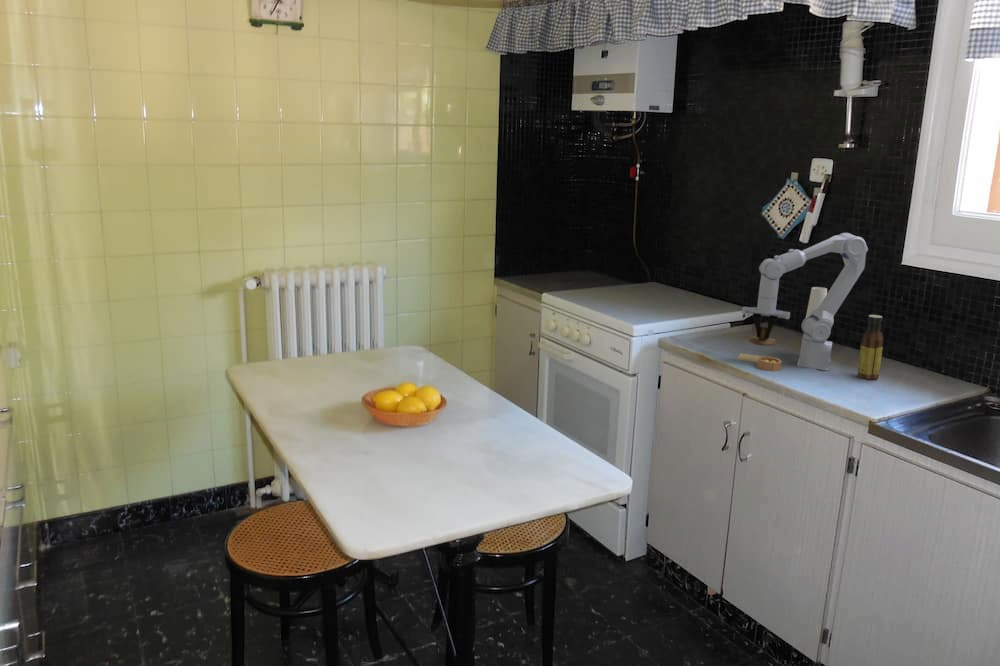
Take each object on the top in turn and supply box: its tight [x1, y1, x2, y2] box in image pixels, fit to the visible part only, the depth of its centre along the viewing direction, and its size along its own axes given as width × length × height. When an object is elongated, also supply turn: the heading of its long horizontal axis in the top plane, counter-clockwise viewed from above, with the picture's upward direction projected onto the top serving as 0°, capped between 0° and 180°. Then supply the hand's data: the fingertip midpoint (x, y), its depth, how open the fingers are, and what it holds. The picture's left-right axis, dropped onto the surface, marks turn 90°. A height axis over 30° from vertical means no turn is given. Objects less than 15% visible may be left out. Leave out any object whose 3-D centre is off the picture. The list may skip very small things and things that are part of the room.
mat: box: [736, 352, 764, 363], centre depth 265 cm, size 9×8×1 cm
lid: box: [748, 326, 777, 346], centre depth 258 cm, size 8×8×5 cm
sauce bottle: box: [857, 314, 884, 380], centre depth 248 cm, size 6×6×20 cm
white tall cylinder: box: [805, 286, 828, 318], centre depth 265 cm, size 7×7×24 cm
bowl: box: [756, 356, 783, 372], centre depth 255 cm, size 7×7×3 cm
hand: (762, 337), depth 259 cm, fingers closed on lid, 2 cm apart
